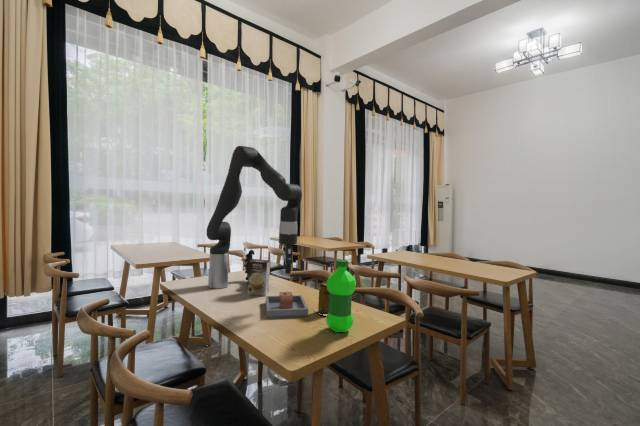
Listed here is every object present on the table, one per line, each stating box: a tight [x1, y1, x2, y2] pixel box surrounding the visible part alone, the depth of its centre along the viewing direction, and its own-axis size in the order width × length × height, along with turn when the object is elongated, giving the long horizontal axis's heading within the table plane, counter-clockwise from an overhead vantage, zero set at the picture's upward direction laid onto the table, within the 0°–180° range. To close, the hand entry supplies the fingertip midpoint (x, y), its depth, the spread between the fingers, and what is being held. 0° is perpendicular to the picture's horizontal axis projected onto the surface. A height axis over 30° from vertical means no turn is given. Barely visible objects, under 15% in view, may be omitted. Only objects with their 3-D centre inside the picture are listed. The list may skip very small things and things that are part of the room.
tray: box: [265, 294, 309, 319], centre depth 129 cm, size 16×18×3 cm
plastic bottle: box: [325, 259, 357, 333], centre depth 110 cm, size 10×10×25 cm
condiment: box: [313, 281, 330, 318], centre depth 126 cm, size 7×8×12 cm
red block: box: [278, 291, 294, 309], centre depth 129 cm, size 5×5×6 cm
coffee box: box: [247, 258, 271, 297], centre depth 149 cm, size 9×6×16 cm
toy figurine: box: [244, 249, 270, 284], centre depth 163 cm, size 9×19×25 cm
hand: (286, 271), depth 129 cm, fingers open, 8 cm apart
